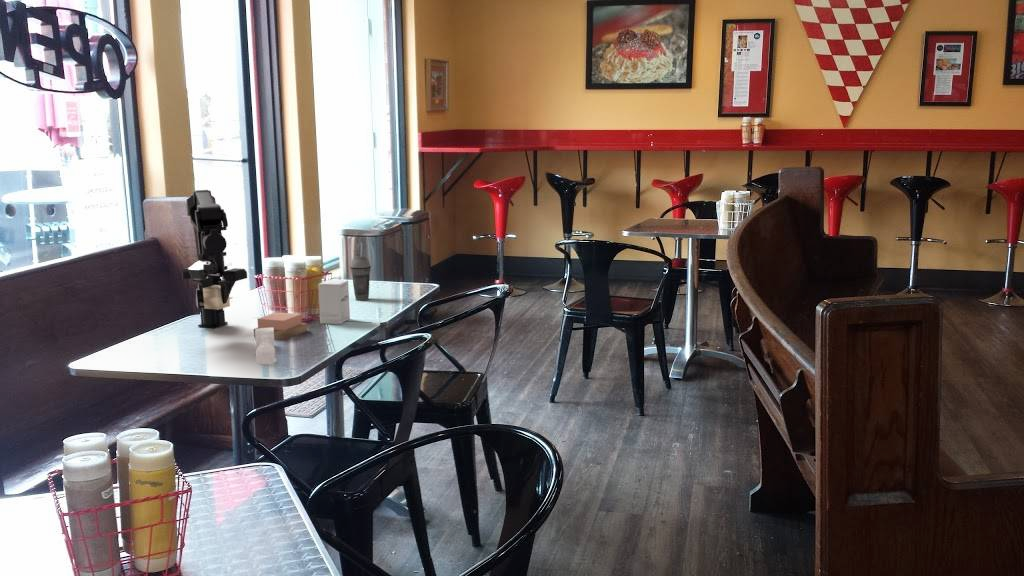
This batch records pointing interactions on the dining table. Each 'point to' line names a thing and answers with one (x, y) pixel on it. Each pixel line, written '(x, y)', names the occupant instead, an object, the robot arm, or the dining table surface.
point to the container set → (265, 345)
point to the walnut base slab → (289, 332)
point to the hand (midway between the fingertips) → (217, 303)
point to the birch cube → (214, 298)
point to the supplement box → (334, 301)
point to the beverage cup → (361, 276)
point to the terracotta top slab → (280, 321)
